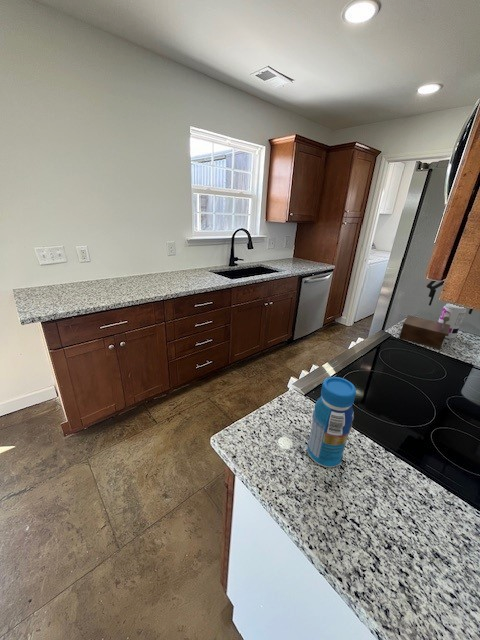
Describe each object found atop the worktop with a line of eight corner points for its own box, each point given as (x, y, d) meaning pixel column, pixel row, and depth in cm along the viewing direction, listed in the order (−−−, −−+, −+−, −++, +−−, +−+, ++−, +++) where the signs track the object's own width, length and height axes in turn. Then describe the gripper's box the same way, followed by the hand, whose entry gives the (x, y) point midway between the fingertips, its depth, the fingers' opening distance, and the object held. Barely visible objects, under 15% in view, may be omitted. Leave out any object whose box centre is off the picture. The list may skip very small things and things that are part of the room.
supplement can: (438, 338, 122) (450, 307, 116) (431, 330, 129) (441, 301, 123) (458, 340, 120) (471, 310, 114) (450, 332, 128) (461, 303, 121)
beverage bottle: (299, 450, 64) (310, 383, 56) (319, 433, 69) (332, 369, 61) (329, 476, 58) (347, 405, 50) (349, 455, 63) (368, 387, 55)
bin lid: (449, 326, 117) (455, 312, 115) (448, 336, 108) (454, 320, 106) (407, 316, 127) (412, 302, 124) (403, 324, 118) (407, 310, 115)
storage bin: (442, 339, 121) (447, 326, 118) (440, 350, 112) (445, 335, 109) (403, 329, 129) (407, 316, 127) (398, 338, 120) (402, 324, 118)
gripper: (511, 261, 98) (487, 314, 106) (431, 251, 111) (416, 299, 120) (514, 264, 92) (488, 319, 101) (429, 254, 106) (413, 303, 115)
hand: (449, 308), depth 111 cm, fingers open, 13 cm apart
